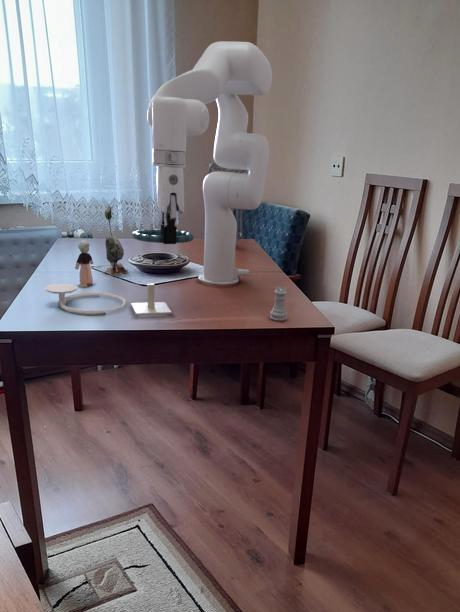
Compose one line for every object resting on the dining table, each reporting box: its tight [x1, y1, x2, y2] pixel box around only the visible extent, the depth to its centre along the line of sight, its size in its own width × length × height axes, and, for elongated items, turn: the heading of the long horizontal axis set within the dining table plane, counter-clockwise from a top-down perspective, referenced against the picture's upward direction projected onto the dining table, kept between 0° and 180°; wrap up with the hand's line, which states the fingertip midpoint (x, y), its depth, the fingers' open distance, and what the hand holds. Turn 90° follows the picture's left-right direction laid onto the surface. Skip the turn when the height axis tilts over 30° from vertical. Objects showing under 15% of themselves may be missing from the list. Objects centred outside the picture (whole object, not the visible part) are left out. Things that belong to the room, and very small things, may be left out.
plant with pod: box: [104, 205, 130, 276], centre depth 170 cm, size 8×11×20 cm
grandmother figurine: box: [74, 239, 94, 288], centre depth 158 cm, size 8×4×13 cm, turn 168°
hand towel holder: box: [44, 282, 127, 316], centre depth 143 cm, size 17×4×21 cm
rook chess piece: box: [269, 286, 288, 322], centre depth 140 cm, size 4×4×8 cm
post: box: [130, 282, 173, 316], centre depth 140 cm, size 9×9×7 cm
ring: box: [131, 228, 195, 244], centre depth 139 cm, size 15×15×2 cm
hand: (168, 242), depth 133 cm, fingers closed on ring, 1 cm apart
